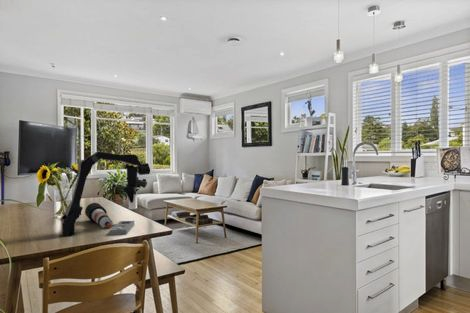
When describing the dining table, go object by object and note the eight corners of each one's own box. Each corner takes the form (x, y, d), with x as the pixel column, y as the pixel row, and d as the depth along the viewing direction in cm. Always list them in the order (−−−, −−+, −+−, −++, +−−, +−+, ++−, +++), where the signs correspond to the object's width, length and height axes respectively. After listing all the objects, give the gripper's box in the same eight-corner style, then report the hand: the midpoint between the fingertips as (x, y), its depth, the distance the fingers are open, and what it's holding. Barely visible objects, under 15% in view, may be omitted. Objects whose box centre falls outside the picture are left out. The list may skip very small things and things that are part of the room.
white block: (135, 209, 177) (135, 195, 177) (128, 209, 177) (128, 195, 176) (137, 207, 181) (136, 194, 181) (130, 208, 181) (129, 194, 180)
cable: (105, 239, 164) (96, 224, 161) (89, 221, 191) (82, 208, 187) (122, 228, 170) (114, 213, 166) (105, 212, 196) (97, 199, 192)
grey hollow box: (126, 236, 154) (126, 228, 154) (110, 237, 153) (110, 229, 153) (134, 226, 174) (134, 219, 173) (120, 227, 173) (119, 220, 172)
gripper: (143, 176, 170) (143, 204, 170) (148, 173, 189) (149, 198, 189) (122, 177, 169) (123, 204, 169) (130, 174, 187) (131, 199, 188)
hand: (132, 201), depth 179 cm, fingers closed on white block, 4 cm apart
